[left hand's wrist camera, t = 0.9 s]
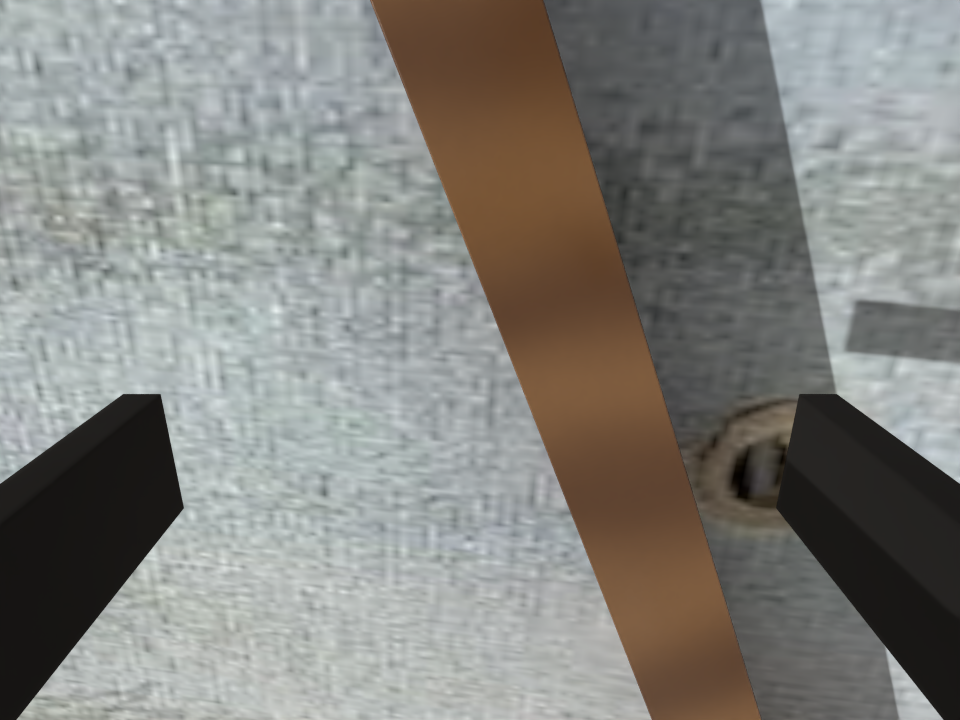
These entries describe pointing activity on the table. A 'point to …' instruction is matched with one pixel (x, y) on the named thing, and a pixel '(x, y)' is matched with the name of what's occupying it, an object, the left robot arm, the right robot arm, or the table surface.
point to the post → (572, 333)
